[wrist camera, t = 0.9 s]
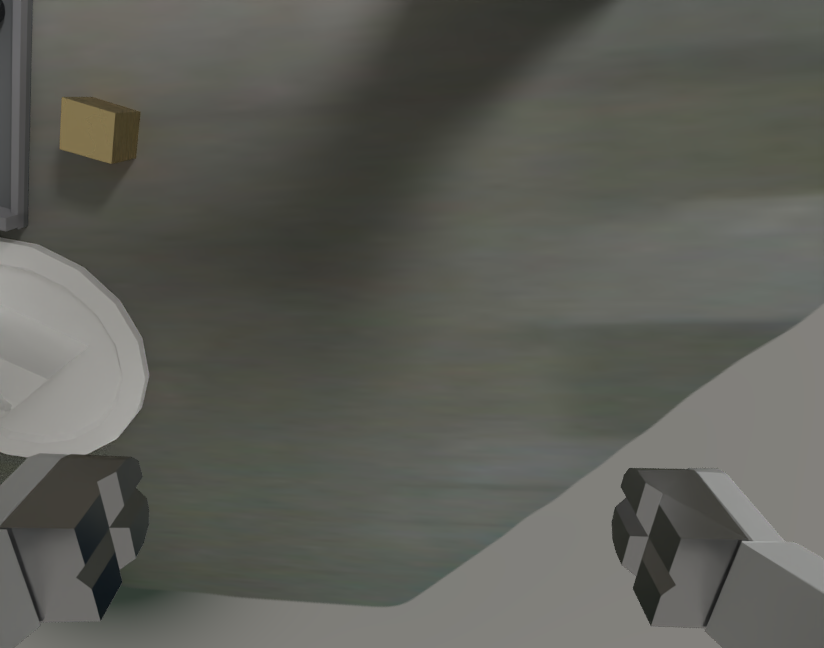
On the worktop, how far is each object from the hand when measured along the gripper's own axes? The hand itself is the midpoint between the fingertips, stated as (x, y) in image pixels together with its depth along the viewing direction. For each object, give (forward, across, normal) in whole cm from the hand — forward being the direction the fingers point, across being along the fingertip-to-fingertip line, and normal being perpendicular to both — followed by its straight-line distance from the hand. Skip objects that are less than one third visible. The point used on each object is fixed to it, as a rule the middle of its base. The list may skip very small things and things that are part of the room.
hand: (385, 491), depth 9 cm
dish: (+43, +37, +21) cm, 60 cm away
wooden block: (+42, +24, -2) cm, 49 cm away
